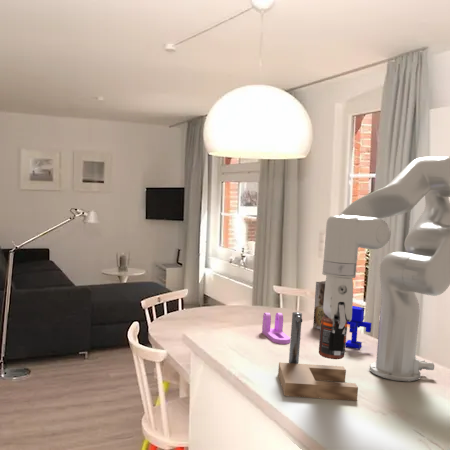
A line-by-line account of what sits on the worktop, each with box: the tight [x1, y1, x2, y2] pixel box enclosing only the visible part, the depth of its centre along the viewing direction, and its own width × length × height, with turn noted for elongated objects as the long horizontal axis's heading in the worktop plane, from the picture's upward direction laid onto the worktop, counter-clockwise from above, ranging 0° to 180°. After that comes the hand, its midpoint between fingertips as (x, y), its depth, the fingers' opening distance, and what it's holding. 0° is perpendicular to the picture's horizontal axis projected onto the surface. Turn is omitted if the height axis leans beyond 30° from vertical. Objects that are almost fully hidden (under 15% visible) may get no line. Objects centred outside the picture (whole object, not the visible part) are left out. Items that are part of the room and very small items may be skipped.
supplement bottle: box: [318, 314, 348, 360], centre depth 119 cm, size 6×6×11 cm
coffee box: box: [312, 280, 326, 331], centre depth 175 cm, size 9×6×16 cm
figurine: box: [345, 305, 372, 350], centre depth 156 cm, size 8×8×12 cm
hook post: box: [288, 311, 303, 364], centre depth 128 cm, size 4×6×15 cm, turn 0°
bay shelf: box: [277, 361, 359, 402], centre depth 120 cm, size 16×14×3 cm
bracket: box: [261, 312, 291, 345], centre depth 161 cm, size 13×6×7 cm, turn 14°
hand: (332, 345), depth 119 cm, fingers closed on supplement bottle, 6 cm apart
